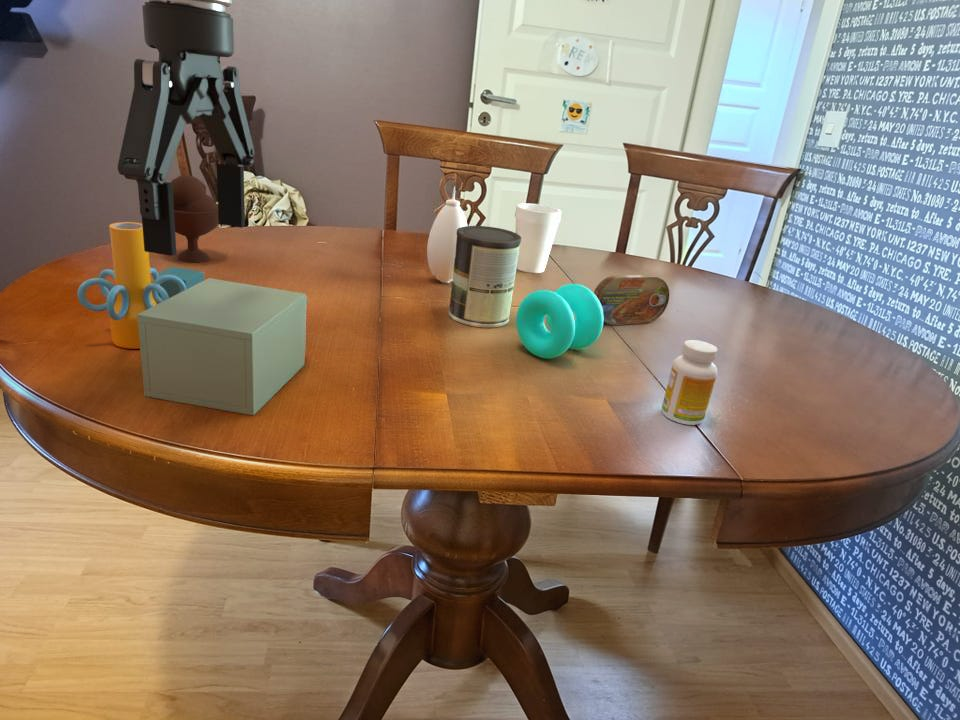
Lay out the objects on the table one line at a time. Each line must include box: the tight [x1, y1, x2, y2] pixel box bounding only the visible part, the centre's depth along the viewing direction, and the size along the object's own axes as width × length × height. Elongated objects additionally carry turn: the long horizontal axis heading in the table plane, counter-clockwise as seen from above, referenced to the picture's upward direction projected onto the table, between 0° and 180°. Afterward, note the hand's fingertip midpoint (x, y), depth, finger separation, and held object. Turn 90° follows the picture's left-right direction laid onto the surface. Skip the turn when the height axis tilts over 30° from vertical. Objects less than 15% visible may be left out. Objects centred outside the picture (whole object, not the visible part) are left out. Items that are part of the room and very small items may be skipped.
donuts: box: [515, 283, 605, 360], centre depth 98 cm, size 10×10×10 cm
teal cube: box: [158, 266, 205, 299], centre depth 98 cm, size 5×5×5 cm
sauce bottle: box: [426, 185, 469, 284], centre depth 123 cm, size 8×8×18 cm
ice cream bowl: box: [169, 174, 220, 264], centre depth 118 cm, size 11×11×15 cm
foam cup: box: [514, 202, 562, 274], centre depth 140 cm, size 10×9×13 cm
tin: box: [593, 274, 670, 326], centre depth 115 cm, size 15×3×8 cm, turn 114°
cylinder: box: [76, 221, 186, 350], centre depth 83 cm, size 12×10×15 cm
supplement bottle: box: [661, 339, 718, 426], centre depth 83 cm, size 5×5×10 cm
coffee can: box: [448, 225, 522, 329], centre depth 107 cm, size 10×10×14 cm
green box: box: [137, 277, 307, 416], centre depth 77 cm, size 15×13×10 cm
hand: (199, 238), depth 68 cm, fingers open, 13 cm apart
